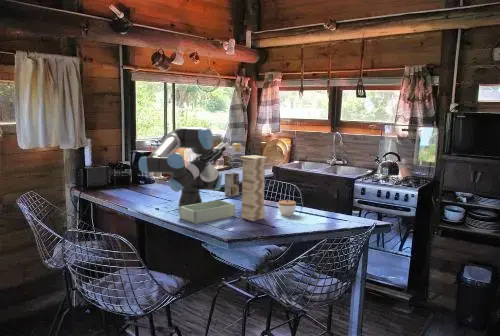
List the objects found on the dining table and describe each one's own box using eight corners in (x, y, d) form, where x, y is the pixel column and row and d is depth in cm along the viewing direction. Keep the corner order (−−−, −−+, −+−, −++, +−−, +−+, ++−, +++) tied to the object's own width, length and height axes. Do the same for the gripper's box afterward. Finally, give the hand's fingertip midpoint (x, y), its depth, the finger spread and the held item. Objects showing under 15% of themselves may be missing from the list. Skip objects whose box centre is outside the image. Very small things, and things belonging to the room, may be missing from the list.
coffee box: (232, 193, 310) (232, 172, 307) (239, 194, 306) (239, 173, 303) (224, 195, 303) (224, 173, 301) (230, 196, 299) (230, 174, 296)
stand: (252, 221, 232) (253, 158, 227) (238, 217, 241) (239, 156, 236) (267, 218, 240) (268, 157, 235) (253, 214, 249) (254, 155, 244)
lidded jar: (294, 212, 255) (295, 197, 254) (296, 217, 245) (297, 201, 244) (277, 212, 256) (278, 197, 254) (278, 216, 245) (278, 201, 244)
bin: (194, 224, 226) (194, 211, 225) (179, 218, 236) (179, 206, 235) (235, 215, 245) (235, 204, 244) (219, 210, 256) (219, 199, 255)
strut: (217, 153, 215) (217, 145, 214) (211, 152, 218) (211, 144, 218) (243, 151, 227) (243, 143, 226) (237, 150, 231) (237, 143, 230)
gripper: (188, 173, 217) (219, 148, 229) (207, 177, 205) (238, 151, 217) (182, 161, 213) (213, 137, 225) (201, 164, 202) (233, 139, 214)
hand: (225, 144), depth 221 cm, fingers closed on strut, 3 cm apart
